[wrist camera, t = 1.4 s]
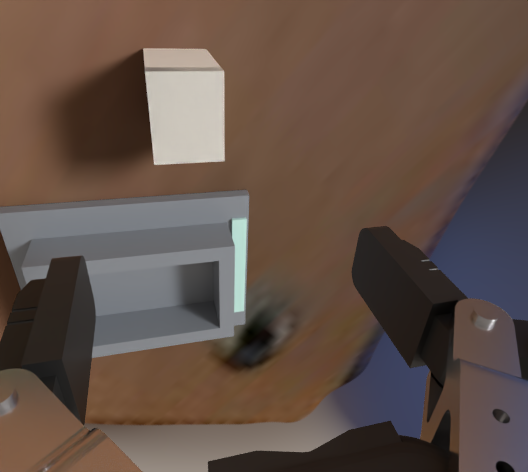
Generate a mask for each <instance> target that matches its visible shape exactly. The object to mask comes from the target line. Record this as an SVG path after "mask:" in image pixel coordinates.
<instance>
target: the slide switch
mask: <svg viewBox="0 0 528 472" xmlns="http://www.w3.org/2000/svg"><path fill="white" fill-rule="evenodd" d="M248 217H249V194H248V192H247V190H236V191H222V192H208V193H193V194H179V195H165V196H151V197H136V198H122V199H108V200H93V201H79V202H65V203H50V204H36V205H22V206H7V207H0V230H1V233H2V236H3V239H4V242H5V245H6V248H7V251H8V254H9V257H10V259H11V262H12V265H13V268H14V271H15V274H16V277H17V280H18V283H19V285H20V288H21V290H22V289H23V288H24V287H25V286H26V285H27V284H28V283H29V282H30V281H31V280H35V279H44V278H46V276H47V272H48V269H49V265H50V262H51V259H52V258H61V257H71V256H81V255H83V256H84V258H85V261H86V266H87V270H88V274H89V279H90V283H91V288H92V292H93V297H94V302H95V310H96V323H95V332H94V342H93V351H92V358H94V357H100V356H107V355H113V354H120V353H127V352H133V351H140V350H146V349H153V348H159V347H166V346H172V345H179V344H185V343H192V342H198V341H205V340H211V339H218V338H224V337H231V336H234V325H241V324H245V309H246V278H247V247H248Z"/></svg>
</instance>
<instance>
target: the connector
mask: <svg viewBox="0 0 528 472" xmlns="http://www.w3.org/2000/svg"><path fill="white" fill-rule="evenodd" d="M143 53H144V66H145V77H146V87H147V97H148V107H149V117H150V127H151V137H152V147H153V157H154V165H159V164H178V163H197V162H216V161H224V71H223V69H222V68H221V67H220V66H219V65H218V63H217V62H216V61H215V60H214V58H213V57H212V56H211V55H210V53H209V52H208V51H207V50H206V49H156V48H143Z"/></svg>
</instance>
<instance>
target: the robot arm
mask: <svg viewBox="0 0 528 472" xmlns="http://www.w3.org/2000/svg"><path fill="white" fill-rule="evenodd" d="M352 278H353V283H354V285H355V287H356V289H357V291H358V292H359V294H360V295H361V296H362V298H363V299H364V301H365V302H366V304H367V305H368V307H369V308H370V310H371V311H372V313H373V314H374V316H375V317H376V319H377V320H378V322H379V323H380V325H381V326H382V327H383V329H384V330H385V332H386V333H387V335H388V336H389V338H390V339H391V341H392V342H393V344H394V345H395V347H396V348H397V350H398V351H399V353H400V354H401V356H402V357H403V358H404V360H405V361H406V363H407V364H408V366H409V367H410V368H413V367H418V366H423V365H427V366H428V368H429V369H430V371H429V374H428V376H427V381H426V391H425V401H424V412H423V421H422V430H421V436H420V439H417V438H413V437H408V436H402V435H398V434H397V432H396V430H395V428H394V426H393V425H392V423H391V421H387V422H383V423H378V424H374V425H369V426H365V427H360V428H356V429H351V430H348V431H347V432H345V433H343V434H341V435H339V436H338V437H336V438H334V439H332V440H330V441H329V442H327V443H325V444H323V445H321V446H320V447H318V448H316V449H314V450H312V451H310V452H303V453H302V452H277V451H253V452H249V453H245V454H240V455H235V456H231V457H227V458H222V459H218V460H213V461H209V462H208V472H528V321H525V320H515V319H511V317H510V316H509V315H508V314H507V313H506V312H505V311H504V310H502V309H501V308H499V307H498V306H496V305H494V304H492V303H490V302H487V301H484V300H480V299H468V298H467V297H466V296H465V295H464V294H463V293H462V292H461V291H460V290H459V289H458V288H457V287H456V286H455V285H454V284H453V283H452V282H451V281H450V280H449V279H448V278H447V277H446V276H445V275H444V274H443V273H442V272H441V270H438V268H437V266H436V265H435V264H434V263H433V262H431V261H429V258H428V257H427V256H426V255H425V254H424V253H423V252H422V251H421V250H420V249H419V248H417V247H415V246H413V245H412V244H410V243H408V242H406V241H405V240H401V239H400V238H399V237H398V236H397V235H396V234H395V233H394V232H393V231H392V230H391V229H390V228H389V227H387V226H382V227H372V228H363V229H362V230H361V231H360V234H359V238H358V242H357V247H356V252H355V257H354V262H353V267H352ZM95 323H96V310H95V302H94V297H93V292H92V288H91V283H90V279H89V274H88V270H87V266H86V261H85V258H84V256H83V255H81V256H71V257H61V258H52V259H51V262H50V265H49V269H48V272H47V276H46V278H44V279H35V280H31V281H30V282H29V283H28V284H27V285H26V286H25V287H24V288H23V289H22V290H21V291H20V292H19V293H18V294H17V296H16V299H15V302H14V305H13V308H12V313H10V316H9V319H8V322H7V326H6V327H5V330H4V333H3V336H2V339H1V341H0V472H142V471H141V470H140V469H139V468H138V467H137V466H136V465H135V464H134V463H133V462H132V461H131V460H130V459H129V458H128V457H127V456H126V455H125V453H123V451H122V450H120V448H119V447H118V446H117V445H116V444H115V443H114V442H113V441H112V440H111V439H110V438H109V437H108V436H107V435H106V434H105V433H103V432H102V431H101V430H99V429H97V428H94V429H92V430H91V431H90V430H88V429H87V428H86V427H85V426H84V423H85V414H86V405H87V396H88V387H89V378H90V369H91V360H92V351H93V342H94V332H95Z"/></svg>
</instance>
